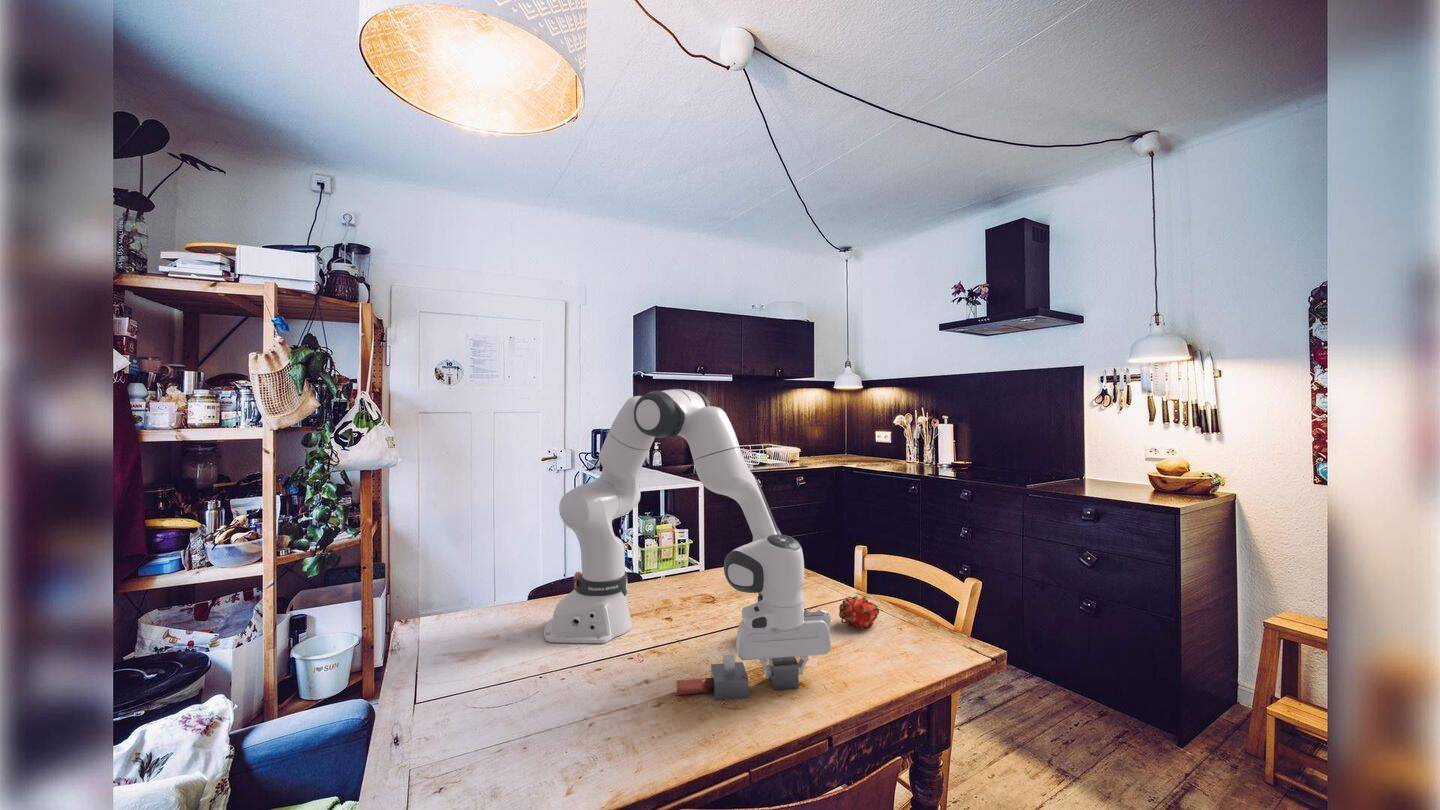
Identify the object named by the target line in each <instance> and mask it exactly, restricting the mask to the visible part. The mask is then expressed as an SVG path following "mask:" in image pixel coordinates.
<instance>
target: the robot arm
mask: <svg viewBox="0 0 1440 810" xmlns="http://www.w3.org/2000/svg"><path fill="white" fill-rule="evenodd" d="M678 436H679V437H681V438H683V439H684V440H685V441H686V443H687V444H688V446H689V450H690V453H691V456H692V457H691V458H692V460H693V464H694V468H695V472H696V474H697V476H698V479H699V481H700V482H701V484H702V486H703V487H704V488H706V489H707V490H709V491H711V492H712V493H715V494H717V495H723V496H726V497H728V498H730V499H733V500H734V501H735V502H736V503H737V504H738V505H739V506H740V507H741V510H742V512H743V515H744V517H745V519H746V522H747V524H748V526H749V530H750V531H751V532H750V533H751V534H752V541H751V542H749V543H747V544H746V543H745V544H743V545H741V546H739V547H736V548H734V549H733V550H731V551H730V552H728V553H727V555H726V556H725V558H724V562H723V573H724V576H725V579H726V581H727V583H728V584H729V585H730V586H731V588H733V589H734V590H735V591H737V592H742V593H749V594H758V593H759V592H760V593H761V594H762V595H763V600H761V601H759V602H758V601H756V602H754V603H753V604H750V605H747V606H745V607H742V609H741V618H742V620H741V621H740V623H739V624H738V627H737V633H736V643H735V644H736V645H735V646H736V647H735V648H736V649H735V650H736V653H737V656H738V657H739V659H740V660H741V661H754V660H759V661H760V664H761V666H762V667H763V668H764V669H763V670H764V671H763V672H764V677H765V678H766V679H767V678H769V677H773V675H772V673H773V670H772V667H771V666H769V665H767V663H768V659H769V658H783V657H795V658H796V657H800V659H799V660H798V661H797V663H798V664H799V676H802V675H804V667H805V666H806V664H807V662H808V661H809V656H821V655H822V656H823V655H827V654H829V652H830V651H831V650H832V645H831V635H830V628H831V622H832V621H831V620H832V619H831V615H830V613H828V612H827V611H825V610H824V609H817V610H811V609H809V610H805V596H804V591H803V586H804V583H805V560H804V559H805V558H804V553H803V548H802V546H801V544H800V543H799V541H798V540H797V539H795V538H794V537H791V536H789V535H786V534H782V532H781V531H780V529H779V528H778V525H777V523H776V521H775V518H774V516H773V513H772V511H771V508H770V506H769V503H768V501H767V498H766V496H765V494H764V492H763V491H764V490H763V489H762V487H761V484H760V483H759V481H758V479H757V478H756V476H755V475H754V473H752V471H751V470H750V469H749V467H748V466H749V465H747V463H746V461H745V458H744V456H743V453H742V450H741V448H740V444H739V443H740V442H739V440H738V437H737V435H736V432H735V430H734V427H733V425H732V423H731V421H730V419H729V417H728V415H727V413H726V412H725V411H724V410H723V409H722V407H721V408H720V407H717V406H715V405H714V406H713V405H712V404H711V402H710V400H709V399H708V398H707V396H705V394H703V393H702V392H700V391H697V390H693V389H681V388H680V389H679V388H671V389H665V390H653V391H650V392H648V393H645V394H644V395H634V396H632V397H629V398H628V399H627V400H626V401H625V402H624V404H623V405H622V407H621V408H620V410H619V411H618V413H617V415H616V416H615V418H614V421H613V422H612V424H611V426H610V429H609V430H608V433H607V434H606V437H605V439H604V443H603V444H602V447H601V449H600V451H599V453H598V459H599V464H600V465H601V466H602V471H601V474H600V476H599V477H598V478H596V480H594V481H591V482H587V483H584V484H581V485H578V486H576V487H574V488H571V490H569V491H568V492H566V493H565V494H564V495H562V497H561V499H560V501H559V506H558V510H559V511H558V512H559V516H560V518H561V521H562V523H564V525H565V526H566V527H568V528H569V529H570V530H572V531H573V533H574V534H575V535H576V538H577V541H578V544H579V548H580V558H581V571H576V572H575V573H574V575H573V588H574V589H573V590H572V591H570V593H568V594H567V595H565V596H564V597H563V598H562V599H560V601H558V603H557V604H556V606H555V608H554V611H553V615H552V618H550V619H549V620H548V621H547V622H546V624H545V626H544V629H543V638H545V639H544V640H545V641H546V640H547V641H548V643H563V644H564V643H566V644H567V643H568V644H571V643H572V644H606V643H608V642H609V641H610V640H612V639H614V638H616V637H618V636H621V635H624V634H625V633H627V632H628V631H630V630H631V628H632V627H633V621H632V618H631V614H630V610H629V605H628V598H627V597H628V596H627V594H628V587H629V586H628V574H627V571H626V563H625V561H626V560H625V558H626V556H625V555H626V554H625V543H624V542H623V540H622V539H620V538H619V537H618V536H616V534H615V532H614V529H613V520H615V519H618V518H621V517H623V516H625V515H627V514H628V513H630V512H631V511H632V510H633V509H635V508H636V507H637V506H638V505H639V502H640V500H641V489H640V486H639V484H638V482H639V476H640V471H641V469H642V468H643V465H644V462H645V460H646V458H647V456H648V454H649V451H650V450H651V447H652V445H653V443H654V441H655V438H658V439H660V438H663V439H664V438H670V439H675V438H676V437H678ZM547 641H546V642H547Z"/></svg>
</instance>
